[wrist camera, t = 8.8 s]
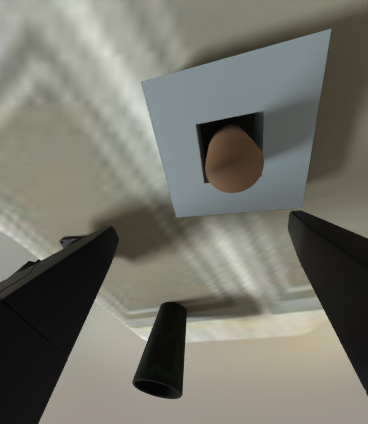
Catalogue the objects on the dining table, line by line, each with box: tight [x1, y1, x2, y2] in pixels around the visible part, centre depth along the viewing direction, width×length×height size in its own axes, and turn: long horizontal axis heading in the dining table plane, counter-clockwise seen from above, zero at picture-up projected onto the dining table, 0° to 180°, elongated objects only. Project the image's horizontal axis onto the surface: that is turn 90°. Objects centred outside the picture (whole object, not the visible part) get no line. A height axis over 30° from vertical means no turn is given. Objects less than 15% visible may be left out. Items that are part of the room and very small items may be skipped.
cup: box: [132, 302, 187, 399], centre depth 31 cm, size 8×8×12 cm
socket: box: [141, 29, 331, 218], centre depth 16 cm, size 12×12×4 cm
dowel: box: [205, 123, 264, 193], centre depth 15 cm, size 4×4×8 cm
